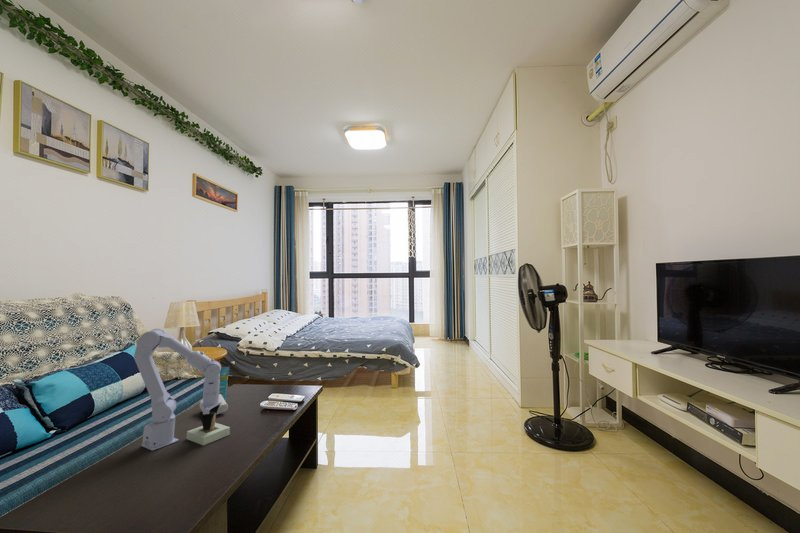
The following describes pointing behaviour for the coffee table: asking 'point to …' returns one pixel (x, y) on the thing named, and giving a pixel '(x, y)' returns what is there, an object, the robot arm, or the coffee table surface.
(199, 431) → the socket
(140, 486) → the coffee table surface
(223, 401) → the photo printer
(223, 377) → the tube
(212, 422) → the peg
